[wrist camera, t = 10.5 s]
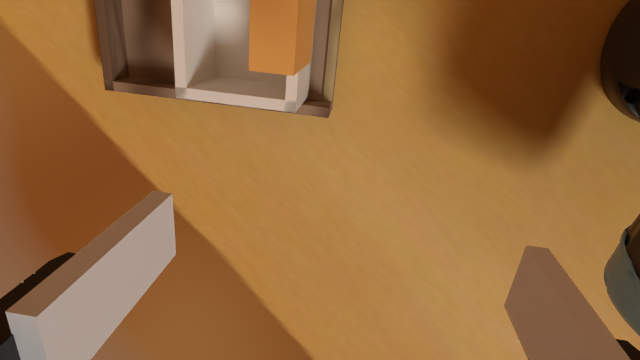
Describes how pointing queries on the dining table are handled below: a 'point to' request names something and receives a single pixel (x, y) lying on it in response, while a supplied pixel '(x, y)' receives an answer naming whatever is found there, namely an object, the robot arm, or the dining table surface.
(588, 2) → the dining table surface
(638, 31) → the robot arm
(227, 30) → the box
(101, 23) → the bay
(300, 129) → the dining table surface
